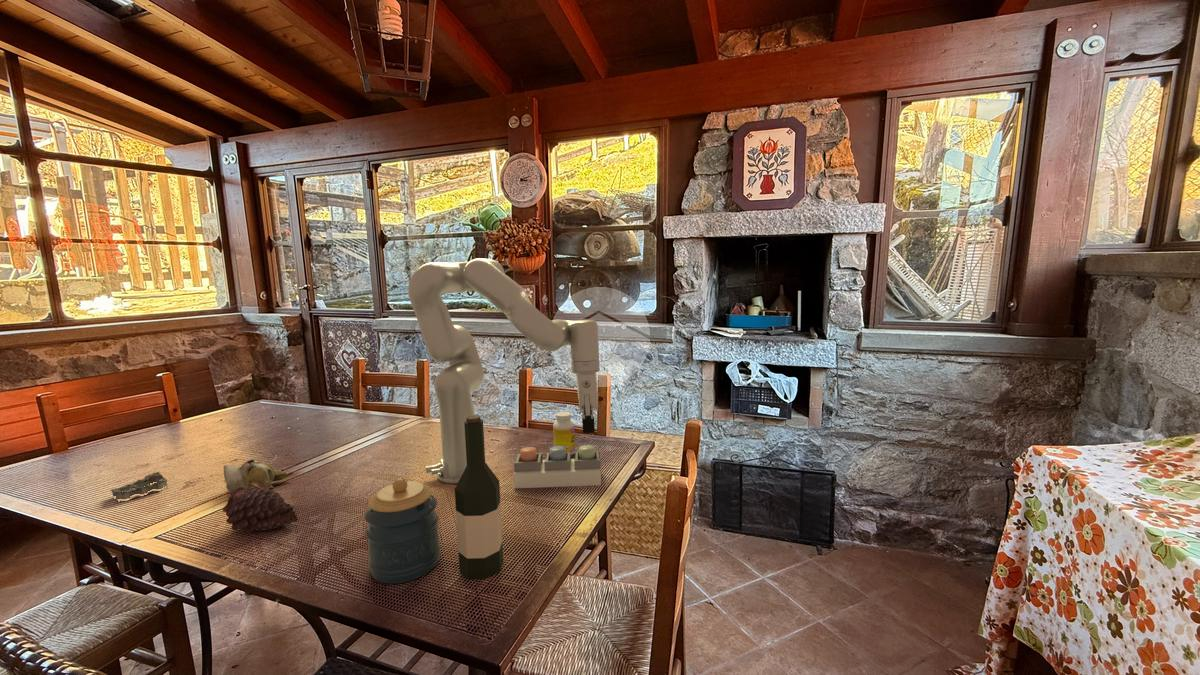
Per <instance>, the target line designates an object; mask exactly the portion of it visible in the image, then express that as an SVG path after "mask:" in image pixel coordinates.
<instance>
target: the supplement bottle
mask: <svg viewBox="0 0 1200 675" xmlns="http://www.w3.org/2000/svg"><path fill="white" fill-rule="evenodd" d="M555 419H556V421H554V422H553V425H552V427H553V430H552V431H553V434H552V435H553V447H554V446H563V447H565V448H566V452H571V456H572V455H575V452H576V444H575V443H576V442H575V441H576V440H575V439H576V438H575V437H576V436H575V423H574V422H573V420H571V419H572V413H571V412H567V411H560V412H556V414H555Z"/></svg>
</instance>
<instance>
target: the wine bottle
mask: <svg viewBox="0 0 1200 675" xmlns="http://www.w3.org/2000/svg"><path fill="white" fill-rule="evenodd" d="M464 426H465V442H466V459H467V466H466V468H465V470H464V472H463V474H462V476H461V478H460V480H459V482H458V483H456V486H455V488H454V500H455V501H454V502H455V515H456V516H455V518H456V534H457V547H458V548H457V549H458V563H459V566H458V567H459V573H460V574H461V575H462V576H464V577H465V578H466V579H468V580H486V579H488V578H490V577H492V576H493V575H495V574H497V573H500V572H501V569H502V567H503V564H504V550H503V549H504V546H503V528H502V527H503V525H502V511H501V509H502V507H501V505H502V504H501V486H500V480H499V478H498V477H497V476H496V474H494V472H493V471H492V469H491V467H490V466H488V464H487V463H486V452H485V451H486V450H485V435H484V434H485V432H484V419H481V415H478V414H475V415H471V416H468V417H467V420H466V421H465V422H464Z"/></svg>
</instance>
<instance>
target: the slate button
mask: <svg viewBox="0 0 1200 675" xmlns="http://www.w3.org/2000/svg"><path fill="white" fill-rule="evenodd" d="M549 453H550V461H563V460H566V448H565V447H563V446H554V445H553V446H552V447H550V448H549Z"/></svg>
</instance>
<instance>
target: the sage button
mask: <svg viewBox="0 0 1200 675" xmlns="http://www.w3.org/2000/svg"><path fill="white" fill-rule="evenodd" d="M595 451H596V447H595V445H590V444H585V445H581V446H579V447H578V452H579V460H592V459H595Z"/></svg>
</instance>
